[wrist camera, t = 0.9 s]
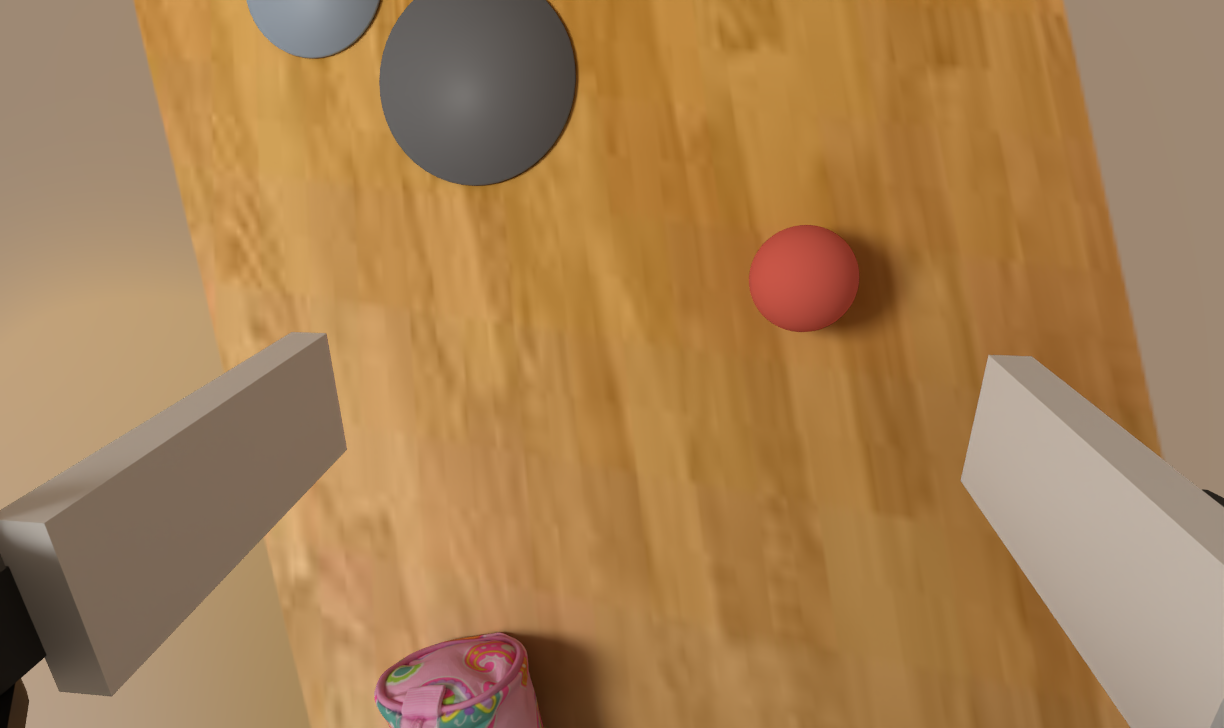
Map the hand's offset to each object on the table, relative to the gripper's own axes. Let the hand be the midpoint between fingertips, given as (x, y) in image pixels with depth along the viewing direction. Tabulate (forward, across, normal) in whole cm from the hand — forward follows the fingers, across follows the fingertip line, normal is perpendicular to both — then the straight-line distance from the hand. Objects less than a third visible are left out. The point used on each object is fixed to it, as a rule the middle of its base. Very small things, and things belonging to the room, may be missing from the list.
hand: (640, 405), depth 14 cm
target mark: (+29, +12, -6) cm, 32 cm away
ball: (+23, -7, +3) cm, 24 cm away
